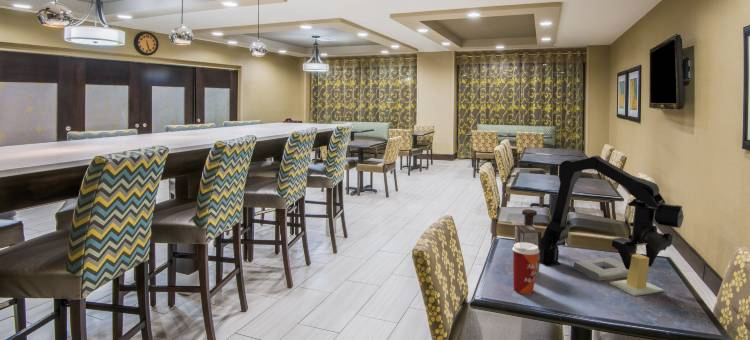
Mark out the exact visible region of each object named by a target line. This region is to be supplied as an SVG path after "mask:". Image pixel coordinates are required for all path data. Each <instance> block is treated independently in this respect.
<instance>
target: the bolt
mask: <svg viewBox="0 0 750 340" xmlns="http://www.w3.org/2000/svg"><path fill="white" fill-rule="evenodd" d="M521 215H524V225H532V226H533V225H534V219H535V218H534V217H536V216H537V211H536V210H534V209H530V208H528V209H523V210H522V212H521ZM533 227H534V226H533Z"/></svg>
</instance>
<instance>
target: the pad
mask: <svg viewBox="0 0 750 340" xmlns="http://www.w3.org/2000/svg"><path fill="white" fill-rule="evenodd" d="M626 283H627V279H622V280H616V281H609V284H610V285H611V286H614V287H616V288H617V289H619V290H621V291H624V292H626V293H628V294H630V295H631V296H633V297H636V296H642V295H643V296H644V295H650V294H655V293H656V294H657V293H662V292H664V288H661V287H660V286H659V287H658V286H656V285H654V284H652V283H650V282H647V283H646V287H645V288H639V289H636V288H633V287H631V286H629V285H627V284H626Z"/></svg>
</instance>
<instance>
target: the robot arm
mask: <svg viewBox="0 0 750 340" xmlns="http://www.w3.org/2000/svg"><path fill="white" fill-rule="evenodd" d="M590 169H593V170H595V171H596V172H598V173H600V174H602V175H603V176H605V177H606V178H607V179H610V180H612V181H614V182H615V183H616V184H618V185H620V186H622V187H624V189H626V191H627V192H628V193H629V194H630V195H631V196H632V197H633V199H632V200H631V201H630V202H628V203H627V206H629V207H634V211H633V219H632V220H633V222H631V221H630V222H629V226H630V227H632V230H631V231H632V232H631V233H630V234H628V238H626V237H623V236H622V237H615V238H613V239H612V241H611V247H612V248H614V249H615V250H616V251H617V252H618V254H619V256H620V258H621V261H622V263H624V266H625V268H626V269H628V270H629V268H630V264H631V258H632V255H635V254H636V251H635V249H636V248H637V246H638V247H639V246H645V254H646V255H645V257H648V258H649V265H648V267H650V268H651V267H652V266H653V264H654V263H655V260H656V258H657V257H658V255H659V253H660V252H661V251H666V250H667V248H668V247H671V246H672V245H673V235H672V234H671V233H670V232H666V233H662V232H661V233H660V232H658V227H657V226H658V225H661V226H665V227H672V228H677V229H680V228H681V227H682V224H683V222H684V216H685V215H684V211H683V206H682V205H680V204H679V205H677V204H668V203H667V202H666V201H665V199H664V197H663V196H662V195H661V193H660V188H659V186H658V184H657V183H655V182H653V181H650V180H647V179H645V178H641V177H637V176H634V175H632V174H630V173H629V172H626V171H625V170H623V169H621V168H619V167H618V166H617V165H615V164H613V163H611V162H609V161H607V160H605V158H602V157H601V156H600V155H592V156H589V157H587V158H584V159H580V160H579V159H577V158H572V159H568V160H564V161H562V162H560V164H559V167H558V179H559V188H558V192H557V194H556V195H557V196H556V200H555V203H554V208H553V213H552V216H551V219H550V221H549V223H548V225H547V226H546V228H545V229H544V233H543V235H542V236H541V248H540V262H539V264H542V265H544V266H553V265H554V266H555V265H560V264H561V262H560V261H559V256H560V255H559V252H560V251H559V247H560V245H561V244H562V243H563V242H565V240H566V239H567V238H569V231H570V230H571V229H570V228H571V227H570V226H567V224H566V219H567V217H568V216H567V215H568V211H569V207H570V203H571V200H572V196H573V191H574V187H575V185H576V183H577V181H578V180H579V179H580V177H581V175H582V173H583V171H586V170H590ZM654 223H657V224H658V225H657V226H656V225H655V224H654Z"/></svg>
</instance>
